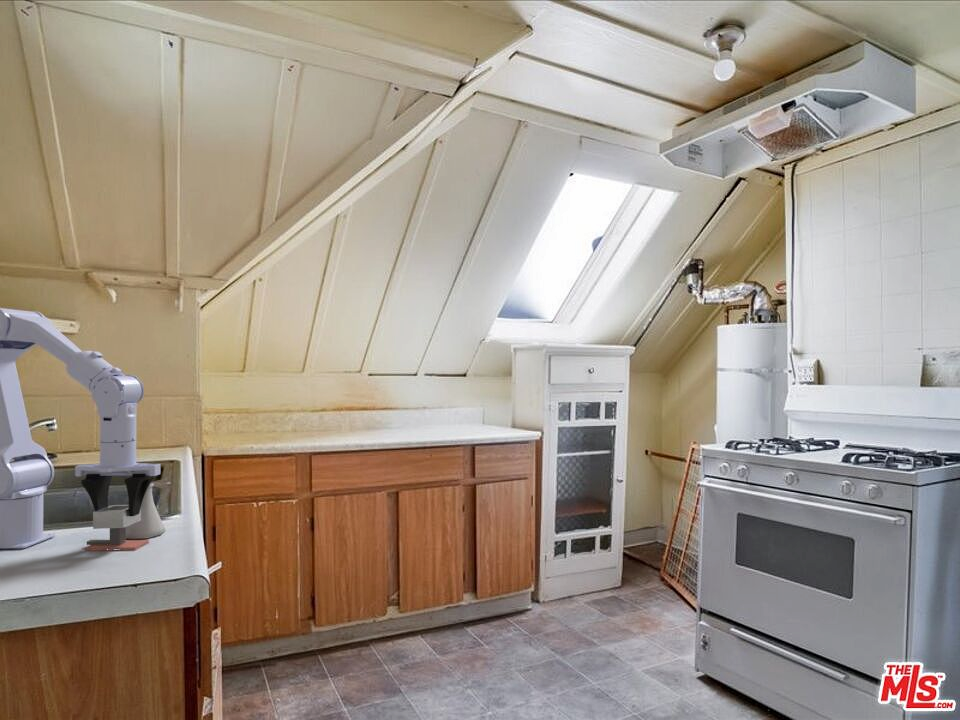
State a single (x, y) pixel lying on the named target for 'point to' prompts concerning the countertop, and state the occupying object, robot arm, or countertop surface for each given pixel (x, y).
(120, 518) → the link
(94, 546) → the keeper hook
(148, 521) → the flask
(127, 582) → the countertop surface
